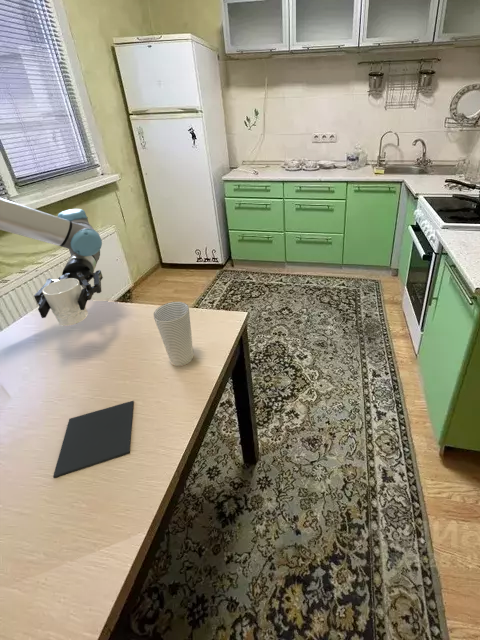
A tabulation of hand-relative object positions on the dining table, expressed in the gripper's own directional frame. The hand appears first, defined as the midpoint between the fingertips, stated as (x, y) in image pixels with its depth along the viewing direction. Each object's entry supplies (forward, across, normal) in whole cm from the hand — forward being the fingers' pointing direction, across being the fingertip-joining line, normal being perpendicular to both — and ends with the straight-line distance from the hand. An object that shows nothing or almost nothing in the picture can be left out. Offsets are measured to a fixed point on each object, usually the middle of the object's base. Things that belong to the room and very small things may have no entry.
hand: (61, 309), depth 79 cm
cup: (+8, -25, -18) cm, 32 cm away
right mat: (+25, -7, -18) cm, 31 cm away
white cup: (-5, 0, -6) cm, 8 cm away
